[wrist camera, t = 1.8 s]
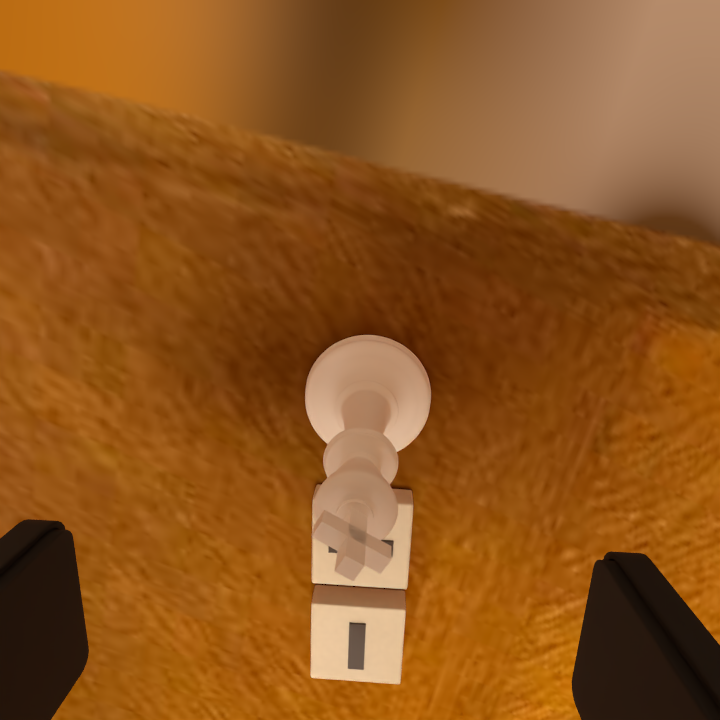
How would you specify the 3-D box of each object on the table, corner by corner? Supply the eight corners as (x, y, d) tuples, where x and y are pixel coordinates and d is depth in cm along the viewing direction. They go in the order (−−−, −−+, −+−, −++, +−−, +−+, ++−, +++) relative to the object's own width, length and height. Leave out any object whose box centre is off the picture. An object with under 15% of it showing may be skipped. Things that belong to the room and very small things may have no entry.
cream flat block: (316, 483, 20) (311, 500, 19) (412, 489, 20) (414, 506, 19) (314, 655, 23) (309, 680, 22) (399, 661, 23) (400, 687, 21)
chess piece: (388, 473, 20) (390, 703, 10) (283, 414, 20) (185, 598, 10) (455, 375, 19) (528, 536, 9) (345, 310, 18) (300, 406, 9)
